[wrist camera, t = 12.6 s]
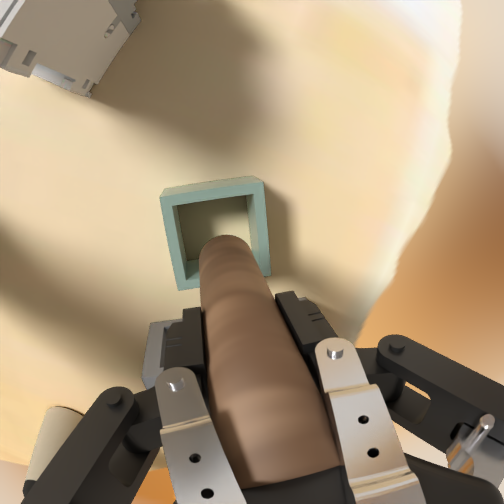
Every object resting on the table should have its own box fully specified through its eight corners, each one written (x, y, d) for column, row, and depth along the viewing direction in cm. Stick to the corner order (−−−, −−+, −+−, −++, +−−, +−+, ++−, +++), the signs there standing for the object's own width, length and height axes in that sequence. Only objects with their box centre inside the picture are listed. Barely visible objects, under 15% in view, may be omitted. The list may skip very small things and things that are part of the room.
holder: (179, 270, 27) (178, 290, 24) (164, 188, 24) (159, 197, 21) (261, 257, 28) (271, 275, 25) (253, 175, 25) (263, 181, 22)
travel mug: (39, 415, 31) (11, 511, 15) (59, 397, 30) (28, 509, 14) (80, 442, 34) (66, 537, 18) (105, 428, 33) (92, 536, 17)
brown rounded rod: (203, 288, 18) (233, 521, 6) (194, 239, 17) (208, 484, 4) (254, 279, 19) (346, 495, 6) (249, 231, 18) (368, 445, 5)
